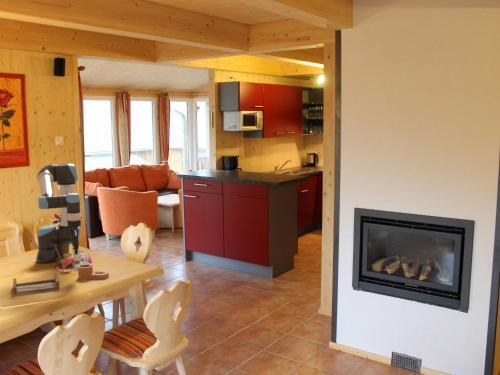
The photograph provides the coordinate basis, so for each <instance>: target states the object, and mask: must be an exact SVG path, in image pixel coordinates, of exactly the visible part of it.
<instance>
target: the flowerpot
mask: <svg viewBox="0 0 500 375" xmlns="http://www.w3.org/2000/svg"><path fill="white" fill-rule="evenodd" d="M53 217H55V220H53V221H52V225H56V224H58V226H57V227H59V224H60V223H61V221H62V220H61V215H60V216H59V215H58V214H56V213H55V214H54V216H53ZM70 245H72V243H65V244H57V249H58V252H59V254H60V257H64V256H63V255H64V254H65V253H68V254H70Z"/></svg>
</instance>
